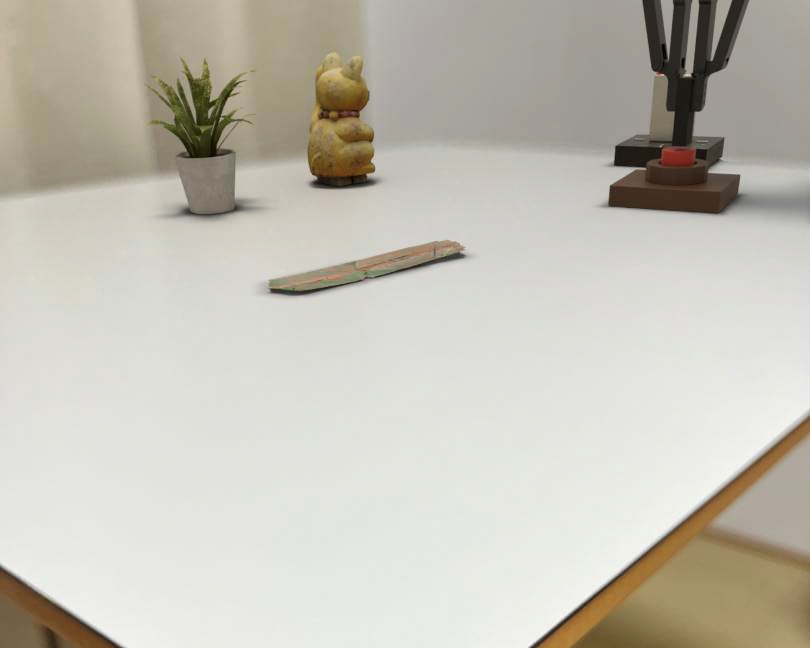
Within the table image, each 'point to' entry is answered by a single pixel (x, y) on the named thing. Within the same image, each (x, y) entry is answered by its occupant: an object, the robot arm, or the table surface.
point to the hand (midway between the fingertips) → (681, 144)
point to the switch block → (675, 188)
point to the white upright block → (662, 111)
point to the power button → (678, 156)
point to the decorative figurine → (340, 124)
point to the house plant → (203, 143)
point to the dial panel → (643, 150)
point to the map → (368, 266)
